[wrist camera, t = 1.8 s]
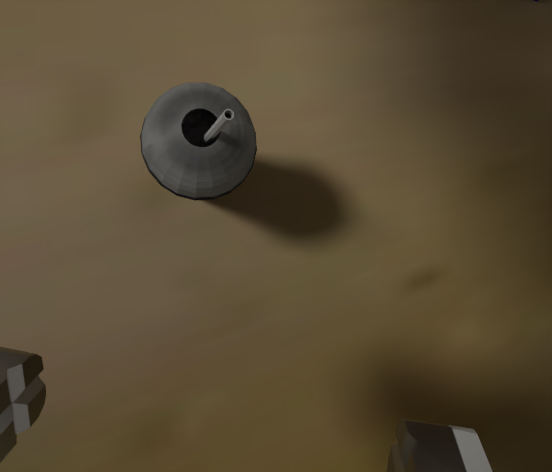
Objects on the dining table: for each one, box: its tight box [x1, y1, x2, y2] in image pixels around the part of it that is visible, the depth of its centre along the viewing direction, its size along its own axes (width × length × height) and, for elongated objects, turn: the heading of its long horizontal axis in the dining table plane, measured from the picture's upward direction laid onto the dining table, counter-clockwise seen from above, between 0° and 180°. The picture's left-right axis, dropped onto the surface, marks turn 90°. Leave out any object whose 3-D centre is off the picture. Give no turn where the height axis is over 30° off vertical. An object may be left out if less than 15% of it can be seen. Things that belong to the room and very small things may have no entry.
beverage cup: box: [140, 83, 257, 200], centre depth 29 cm, size 7×7×20 cm
